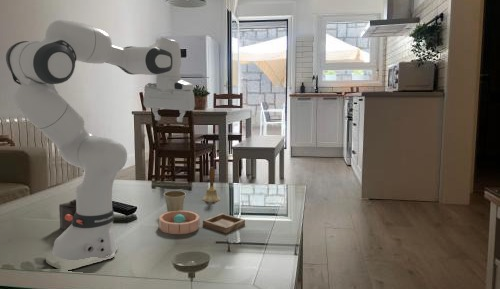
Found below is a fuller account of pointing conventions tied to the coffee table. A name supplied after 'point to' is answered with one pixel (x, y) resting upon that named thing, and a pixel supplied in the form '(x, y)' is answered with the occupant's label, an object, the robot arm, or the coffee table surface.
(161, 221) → the bowl
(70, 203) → the dark grey box
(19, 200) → the coffee table surface
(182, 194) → the flower pot
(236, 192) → the coffee table surface
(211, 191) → the hand bell
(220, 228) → the tray
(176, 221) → the ball
